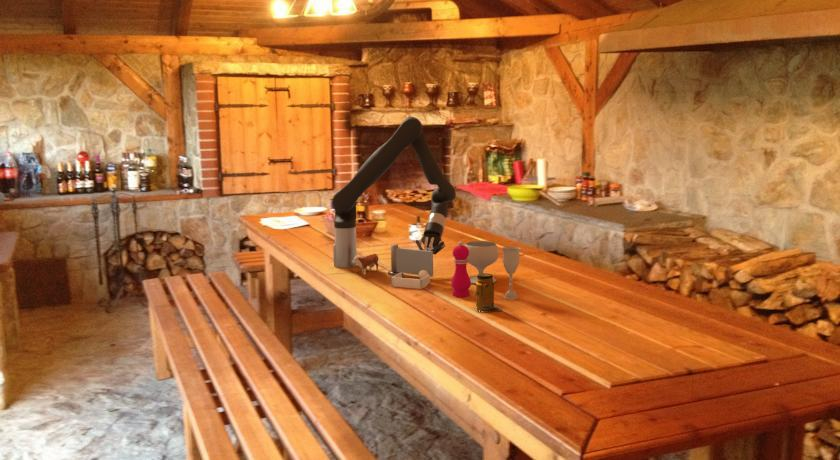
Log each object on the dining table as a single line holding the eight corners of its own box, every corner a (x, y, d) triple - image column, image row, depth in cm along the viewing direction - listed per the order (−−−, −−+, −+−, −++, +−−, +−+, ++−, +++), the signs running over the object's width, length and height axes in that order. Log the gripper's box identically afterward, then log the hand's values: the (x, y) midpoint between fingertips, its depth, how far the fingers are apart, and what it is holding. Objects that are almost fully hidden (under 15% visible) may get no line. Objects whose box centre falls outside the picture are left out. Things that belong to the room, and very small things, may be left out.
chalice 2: (499, 295, 259) (499, 246, 256) (517, 294, 259) (518, 246, 256) (503, 300, 251) (503, 250, 248) (522, 300, 252) (522, 250, 249)
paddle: (390, 271, 293) (389, 245, 291) (394, 270, 296) (393, 244, 294) (430, 277, 283) (429, 249, 281) (434, 275, 285) (433, 248, 283)
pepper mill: (469, 298, 256) (469, 243, 252) (449, 297, 257) (449, 242, 254) (472, 292, 263) (472, 239, 259) (452, 292, 264) (452, 239, 261)
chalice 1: (502, 278, 284) (502, 241, 281) (494, 286, 271) (494, 248, 268) (468, 275, 289) (468, 239, 286) (458, 284, 276) (458, 246, 273)
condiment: (472, 306, 245) (472, 272, 243) (496, 305, 246) (496, 271, 244) (478, 312, 238) (478, 277, 236) (502, 311, 239) (502, 276, 237)
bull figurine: (351, 275, 293) (350, 255, 292) (374, 269, 303) (374, 250, 301) (358, 276, 290) (357, 257, 289) (382, 270, 300) (381, 251, 298)
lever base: (385, 274, 292) (385, 273, 292) (391, 271, 298) (391, 269, 298) (399, 276, 290) (399, 274, 290) (404, 272, 296) (404, 270, 296)
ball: (420, 280, 285) (416, 279, 282) (421, 270, 286) (417, 269, 282) (429, 280, 284) (425, 279, 280) (430, 270, 284) (426, 269, 281)
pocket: (391, 286, 274) (391, 277, 273) (400, 280, 282) (400, 272, 281) (422, 288, 269) (421, 279, 269) (430, 283, 277) (430, 274, 277)
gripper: (417, 220, 295) (407, 255, 286) (448, 221, 290) (438, 257, 281) (422, 230, 301) (412, 265, 292) (452, 232, 296) (443, 267, 287)
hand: (425, 261), depth 287 cm, fingers closed
